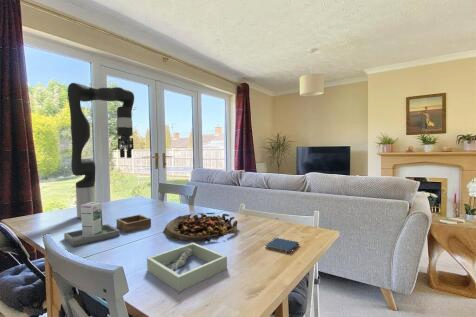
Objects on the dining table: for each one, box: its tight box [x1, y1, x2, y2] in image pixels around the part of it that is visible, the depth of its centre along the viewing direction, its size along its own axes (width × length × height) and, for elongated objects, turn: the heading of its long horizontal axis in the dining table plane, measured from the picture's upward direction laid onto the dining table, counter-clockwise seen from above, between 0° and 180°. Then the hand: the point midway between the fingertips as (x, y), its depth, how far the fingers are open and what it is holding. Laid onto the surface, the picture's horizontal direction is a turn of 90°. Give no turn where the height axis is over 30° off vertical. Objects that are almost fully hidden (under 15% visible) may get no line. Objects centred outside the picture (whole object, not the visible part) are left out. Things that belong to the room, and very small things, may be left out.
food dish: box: [161, 212, 238, 242], centre depth 122 cm, size 35×33×8 cm
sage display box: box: [146, 242, 228, 293], centre depth 82 cm, size 18×18×4 cm
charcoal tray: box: [63, 223, 121, 248], centre depth 113 cm, size 14×18×2 cm
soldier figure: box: [170, 248, 192, 272], centre depth 85 cm, size 8×5×12 cm
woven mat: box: [264, 237, 300, 254], centre depth 100 cm, size 10×11×2 cm
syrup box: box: [80, 201, 103, 238], centre depth 113 cm, size 6×6×14 cm
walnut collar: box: [116, 214, 152, 233], centre depth 128 cm, size 12×12×4 cm
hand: (125, 157), depth 136 cm, fingers open, 8 cm apart
